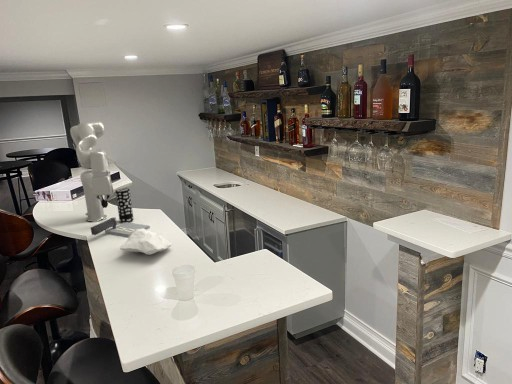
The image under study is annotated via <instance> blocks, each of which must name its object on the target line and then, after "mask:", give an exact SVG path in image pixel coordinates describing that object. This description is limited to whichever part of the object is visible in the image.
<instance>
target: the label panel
mask: <svg viewBox="0 0 512 384" xmlns="http://www.w3.org/2000/svg"><path fill="white" fill-rule="evenodd" d="M150 227H151V226H150V225H149V224H140V223H134V222H126V223H120V224H117V225H115V226H113V227H111V228H109V229H107V230H105V231H104V233H105V234H108V233H109V234H111V235H114V236H115V235H116V236H121V237H126V238H129V236H130V235H131V234H132V233H133V232H134V231H135V230H136V229H142V228H143V229H145V230H148V229H151V228H150ZM109 234H108V235H109Z"/></svg>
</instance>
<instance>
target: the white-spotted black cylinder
mask: <svg viewBox="0 0 512 384" xmlns="http://www.w3.org/2000/svg"><path fill="white" fill-rule="evenodd" d="M115 198H116V203H117V211H118V212H117V213H118V217H119V218H118V219H119V223H120V222H121V223H120V224H123V223H126V222H129V223H133V222H134V221H133V220H134V219H135V218H134V213H133V206H132V198H131V190H130V188H120V189H119V188H118V189H116V190H115Z"/></svg>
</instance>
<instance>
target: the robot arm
mask: <svg viewBox="0 0 512 384" xmlns="http://www.w3.org/2000/svg"><path fill="white" fill-rule="evenodd" d="M105 130H106V129H105V126H104V124H103V122H101V121H99V120H92V121H83V122H79V123H78V124H77V125H74V126H72V127H70V130H69V131H70V137H71V139H72V140H73V143H74V144H75V146H76V148H75V149H76V150H75V152H76V156H77V159H78V162H79V163H80V167H81V168H83V169H85V170H86V171H84V172H82V173H81V174H80V182H81V185H82V189H83V194H84V199H85V206H86V213H85V216H87V217H86V218H85V220H88V221H96V222H98V221H97V220H101V219H104V218H106V217H107V218H108V216H107V214H105V212H104V208H105V209H106V208H107V207H109V202H108V201H109V200H108V199H109V198H112V197H114V196H115V195H114V188H113V187H114V186H113V182H112V179H111V171H110V167H109V162H108V156H107V152H106V151H105V150H104V149H102V148H98V149H93V147H95V146H96V145H97V144H98V141H99V140H98V139H99V138H101V137H103V136H104V134H105ZM88 169H91V170H88ZM107 218H106V219H107ZM104 220H105V219H104ZM88 221H87V222H88ZM101 221H102V220H101Z"/></svg>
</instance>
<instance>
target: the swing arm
mask: <svg viewBox="0 0 512 384" xmlns="http://www.w3.org/2000/svg"><path fill="white" fill-rule="evenodd" d="M115 225H116V226H118V224H117V218H116V217H110V218H107V220H106V219H105V221H104V220H103V221H102V222H100V223H98V224H95V225H93V226H92V227H90V233H91V235H92V236H96V235H98V234H101V233H102V232H105V230H107V229H110V228H112V227H113V226H115Z"/></svg>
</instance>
